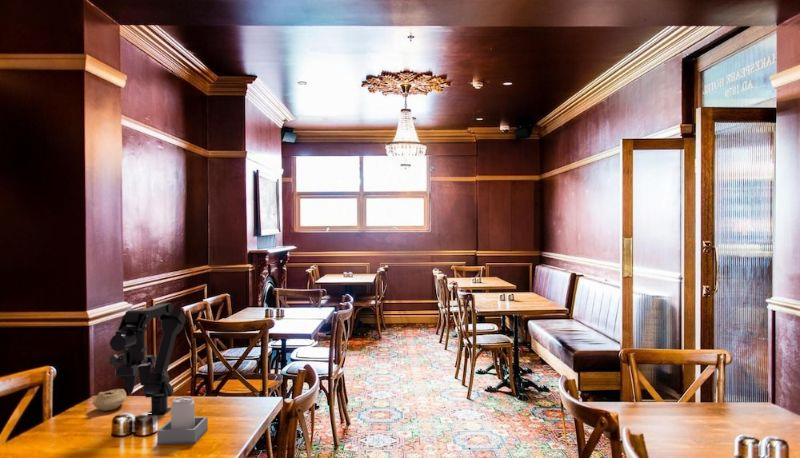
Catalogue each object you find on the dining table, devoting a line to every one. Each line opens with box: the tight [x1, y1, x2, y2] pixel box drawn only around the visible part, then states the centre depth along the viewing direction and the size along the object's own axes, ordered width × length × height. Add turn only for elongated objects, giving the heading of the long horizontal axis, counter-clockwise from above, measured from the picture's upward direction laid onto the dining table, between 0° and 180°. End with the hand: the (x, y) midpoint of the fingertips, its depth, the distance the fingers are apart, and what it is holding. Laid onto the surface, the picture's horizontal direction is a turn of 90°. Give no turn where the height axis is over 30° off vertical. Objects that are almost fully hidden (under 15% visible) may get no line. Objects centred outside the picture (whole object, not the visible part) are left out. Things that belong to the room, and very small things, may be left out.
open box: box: [156, 416, 209, 446], centre depth 173 cm, size 12×12×4 cm
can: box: [170, 395, 196, 430], centre depth 174 cm, size 8×8×12 cm
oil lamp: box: [92, 388, 127, 412], centre depth 205 cm, size 11×15×8 cm
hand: (136, 389), depth 185 cm, fingers open, 9 cm apart
